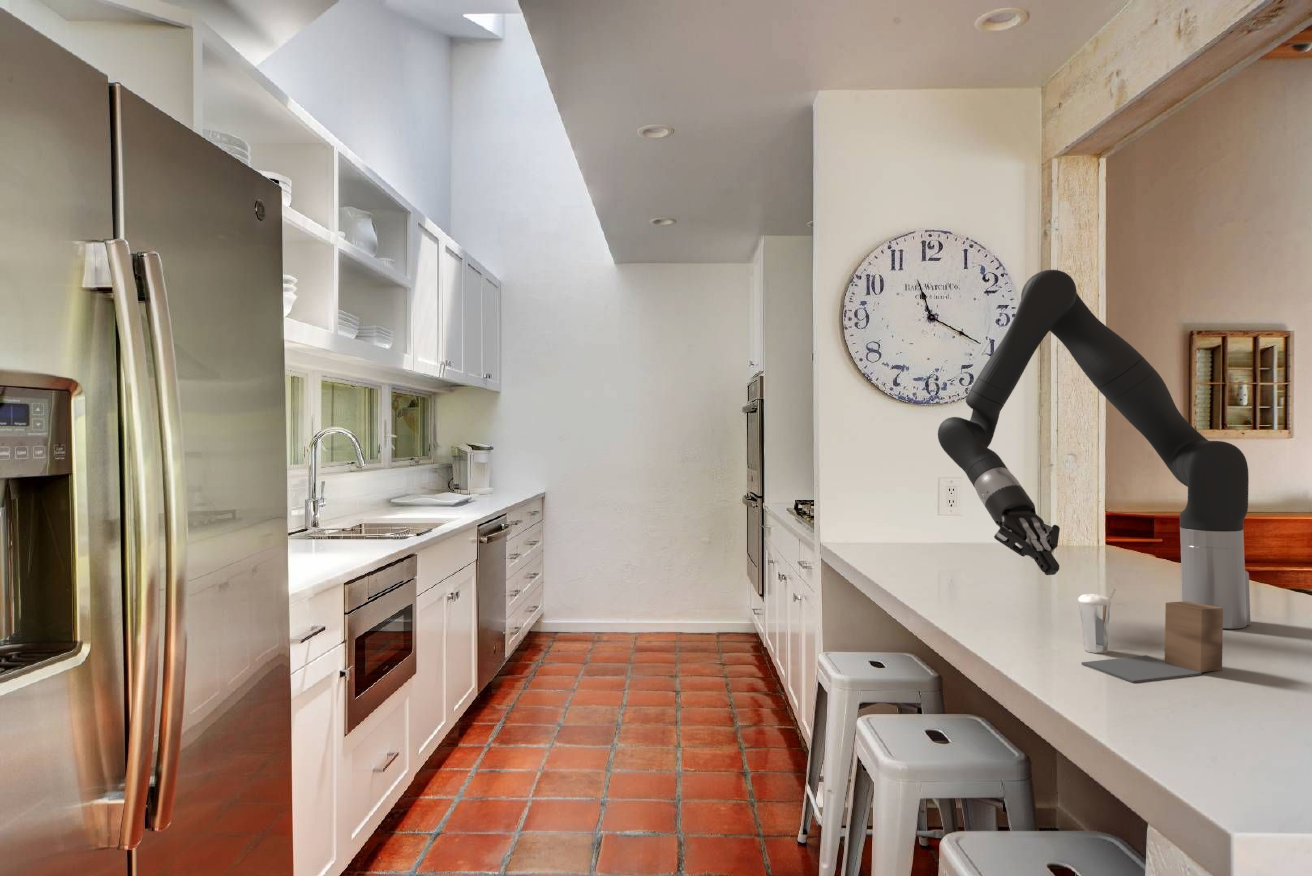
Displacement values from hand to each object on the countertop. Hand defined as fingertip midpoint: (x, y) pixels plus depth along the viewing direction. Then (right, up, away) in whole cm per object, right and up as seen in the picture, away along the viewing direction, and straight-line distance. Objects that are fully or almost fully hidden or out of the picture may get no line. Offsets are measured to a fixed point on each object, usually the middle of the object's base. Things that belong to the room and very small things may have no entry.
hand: (1053, 572), depth 126 cm
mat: (+3, -11, -19) cm, 22 cm away
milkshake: (+2, -11, -9) cm, 15 cm away
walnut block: (+11, -11, -18) cm, 24 cm away
